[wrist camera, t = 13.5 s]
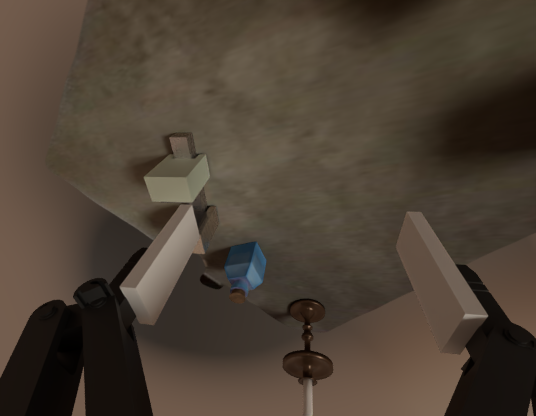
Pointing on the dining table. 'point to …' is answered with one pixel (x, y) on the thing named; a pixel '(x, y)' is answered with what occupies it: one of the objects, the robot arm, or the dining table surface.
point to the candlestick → (307, 352)
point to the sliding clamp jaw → (177, 179)
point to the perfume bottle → (244, 270)
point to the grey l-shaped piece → (203, 215)
